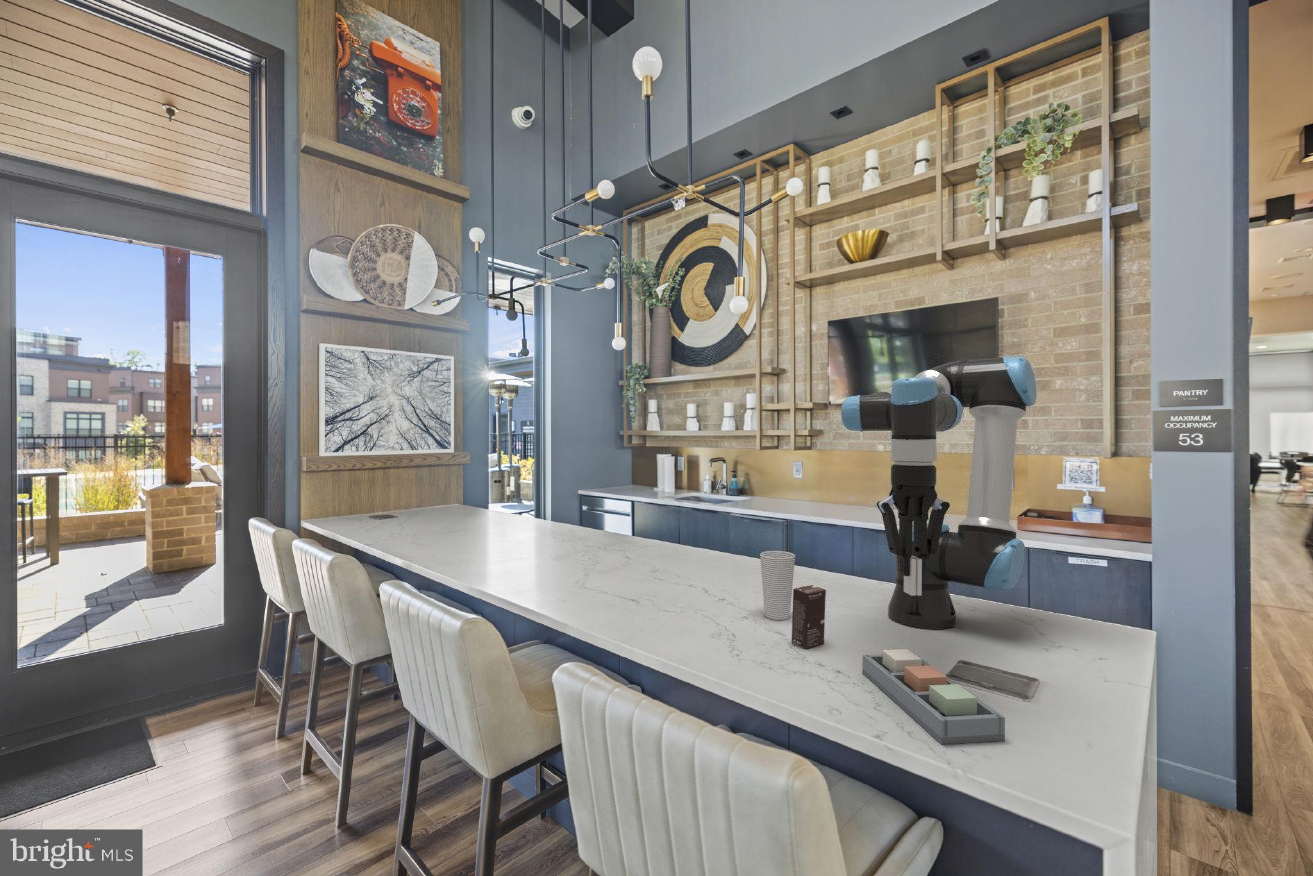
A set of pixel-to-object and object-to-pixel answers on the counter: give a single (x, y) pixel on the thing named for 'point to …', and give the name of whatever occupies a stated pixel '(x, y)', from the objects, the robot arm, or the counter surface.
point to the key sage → (952, 699)
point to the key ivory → (900, 659)
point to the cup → (777, 583)
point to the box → (808, 616)
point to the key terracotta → (923, 677)
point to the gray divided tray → (935, 708)
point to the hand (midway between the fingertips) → (912, 593)
